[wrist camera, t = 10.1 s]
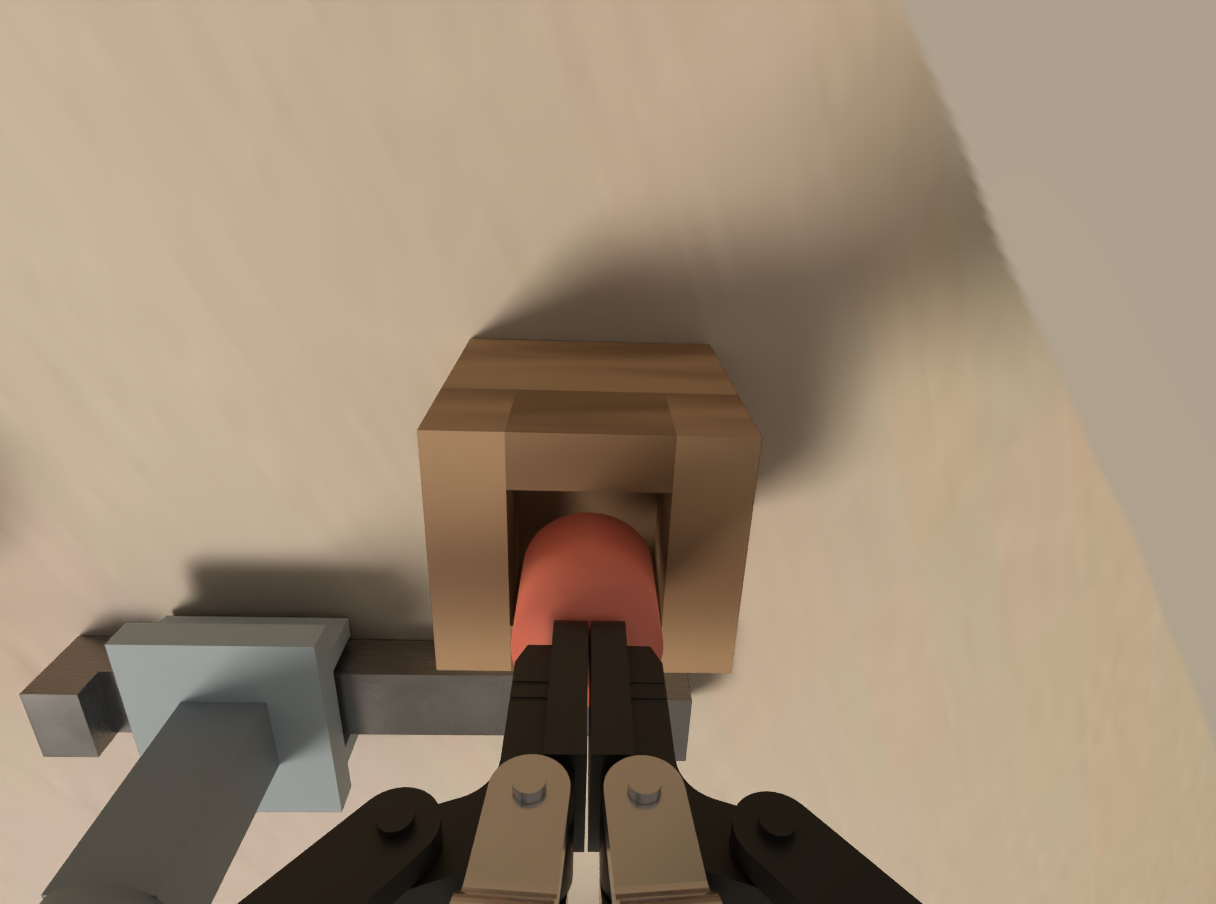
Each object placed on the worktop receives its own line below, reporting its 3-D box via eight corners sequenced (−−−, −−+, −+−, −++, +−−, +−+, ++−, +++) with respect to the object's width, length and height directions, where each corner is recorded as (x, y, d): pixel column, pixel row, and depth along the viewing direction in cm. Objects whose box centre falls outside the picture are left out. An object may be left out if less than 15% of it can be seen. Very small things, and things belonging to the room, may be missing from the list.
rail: (78, 636, 28) (19, 694, 25) (681, 643, 29) (692, 700, 26) (97, 694, 29) (43, 756, 27) (676, 700, 30) (685, 761, 27)
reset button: (522, 510, 17) (508, 583, 14) (656, 513, 17) (668, 585, 14) (524, 620, 18) (512, 706, 16) (648, 622, 18) (658, 708, 16)
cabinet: (470, 338, 24) (416, 430, 16) (709, 345, 24) (762, 437, 17) (479, 531, 27) (437, 681, 19) (692, 535, 27) (729, 685, 20)
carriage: (158, 587, 27) (-107, 866, 17) (344, 590, 27) (196, 866, 17) (200, 744, 30) (0, 1058, 20) (366, 745, 31) (252, 1056, 20)
